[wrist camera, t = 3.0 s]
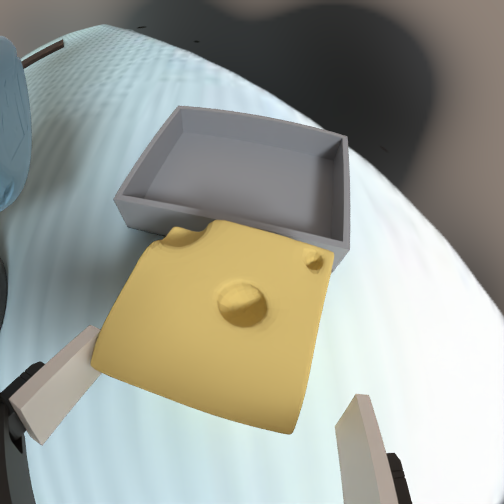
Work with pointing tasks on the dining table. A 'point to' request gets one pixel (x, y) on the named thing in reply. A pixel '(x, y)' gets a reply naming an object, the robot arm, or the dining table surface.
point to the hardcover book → (42, 53)
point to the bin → (242, 178)
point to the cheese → (220, 322)
